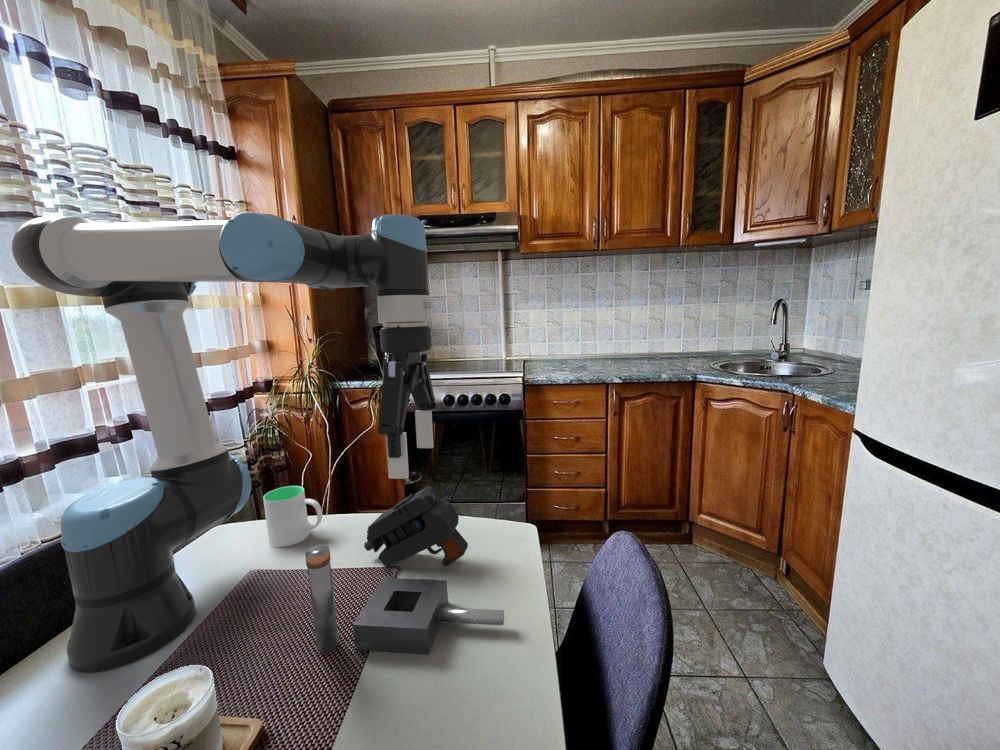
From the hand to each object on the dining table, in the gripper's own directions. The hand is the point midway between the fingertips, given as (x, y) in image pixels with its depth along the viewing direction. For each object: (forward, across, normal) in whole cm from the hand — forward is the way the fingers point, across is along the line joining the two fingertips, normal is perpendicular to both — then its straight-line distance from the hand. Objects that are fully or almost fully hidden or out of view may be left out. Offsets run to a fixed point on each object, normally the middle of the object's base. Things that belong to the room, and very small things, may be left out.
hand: (413, 461), depth 67 cm
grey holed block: (+25, -5, -4) cm, 25 cm away
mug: (+26, +21, +34) cm, 48 cm away
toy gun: (+25, +13, +5) cm, 29 cm away
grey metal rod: (+25, -9, +12) cm, 29 cm away
